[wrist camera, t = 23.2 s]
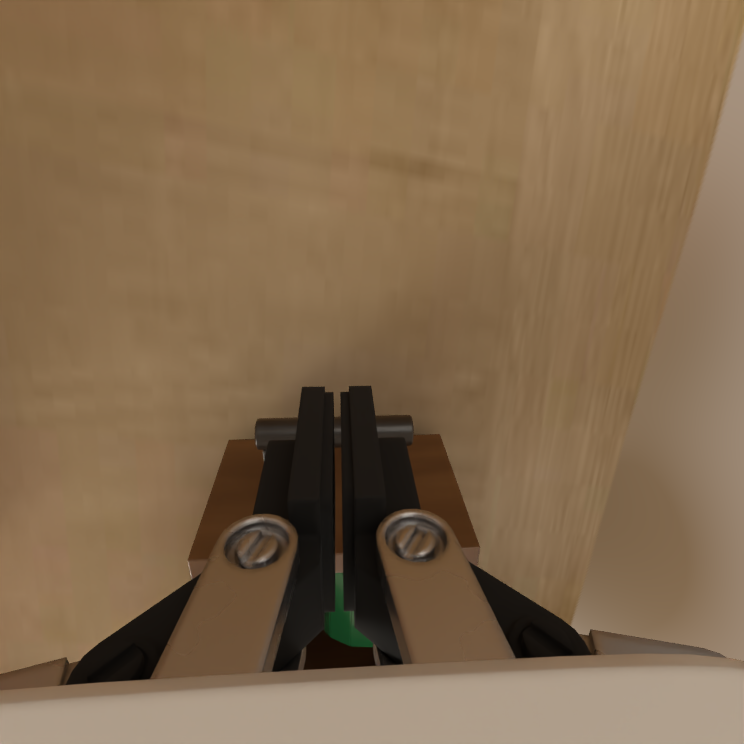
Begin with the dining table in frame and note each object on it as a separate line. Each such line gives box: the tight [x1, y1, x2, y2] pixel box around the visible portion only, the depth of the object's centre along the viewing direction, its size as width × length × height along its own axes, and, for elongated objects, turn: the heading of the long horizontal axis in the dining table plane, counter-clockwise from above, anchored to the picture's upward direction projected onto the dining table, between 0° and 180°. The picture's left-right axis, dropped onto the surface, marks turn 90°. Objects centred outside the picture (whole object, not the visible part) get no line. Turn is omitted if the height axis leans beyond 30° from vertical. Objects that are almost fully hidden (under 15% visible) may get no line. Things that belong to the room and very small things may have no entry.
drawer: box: [188, 415, 480, 670], centre depth 27 cm, size 20×13×9 cm, turn 179°
